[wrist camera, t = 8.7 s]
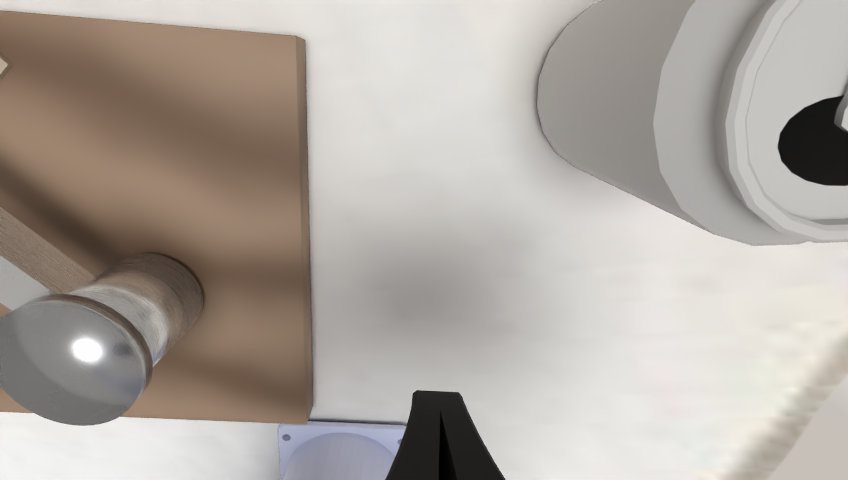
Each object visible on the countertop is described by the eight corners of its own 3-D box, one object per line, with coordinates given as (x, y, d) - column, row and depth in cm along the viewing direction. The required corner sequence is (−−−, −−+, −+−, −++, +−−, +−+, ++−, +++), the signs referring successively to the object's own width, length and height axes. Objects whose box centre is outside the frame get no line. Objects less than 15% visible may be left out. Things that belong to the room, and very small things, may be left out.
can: (516, 161, 20) (649, 255, 9) (552, -15, 17) (810, -210, 6) (662, 180, 20) (970, 292, 9) (719, 11, 18) (1243, -122, 7)
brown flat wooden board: (313, 405, 25) (305, 428, 23) (-35, 390, 24) (-69, 413, 22) (304, 25, 18) (292, 18, 16) (-192, -19, 17) (-260, -31, 15)
